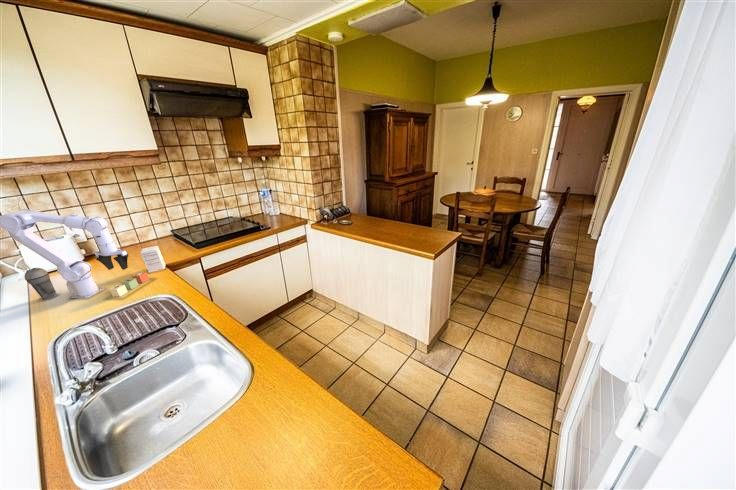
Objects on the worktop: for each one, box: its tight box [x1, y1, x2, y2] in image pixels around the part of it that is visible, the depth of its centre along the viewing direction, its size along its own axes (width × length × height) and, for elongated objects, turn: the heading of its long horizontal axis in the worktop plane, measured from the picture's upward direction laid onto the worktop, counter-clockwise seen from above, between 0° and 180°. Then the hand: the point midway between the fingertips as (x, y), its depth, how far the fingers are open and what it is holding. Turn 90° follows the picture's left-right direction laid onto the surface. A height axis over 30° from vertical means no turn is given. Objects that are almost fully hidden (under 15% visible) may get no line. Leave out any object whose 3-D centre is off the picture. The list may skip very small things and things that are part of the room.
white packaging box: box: [140, 245, 167, 274], centre depth 148 cm, size 7×7×13 cm
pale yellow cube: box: [108, 284, 129, 298], centre depth 125 cm, size 4×4×4 cm
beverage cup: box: [22, 260, 58, 301], centre depth 124 cm, size 7×7×20 cm
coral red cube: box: [131, 272, 150, 284], centre depth 136 cm, size 4×4×4 cm
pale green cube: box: [120, 277, 140, 291], centre depth 131 cm, size 4×4×4 cm
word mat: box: [111, 278, 151, 298], centre depth 131 cm, size 9×18×1 cm, turn 175°
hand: (118, 268), depth 129 cm, fingers open, 7 cm apart
